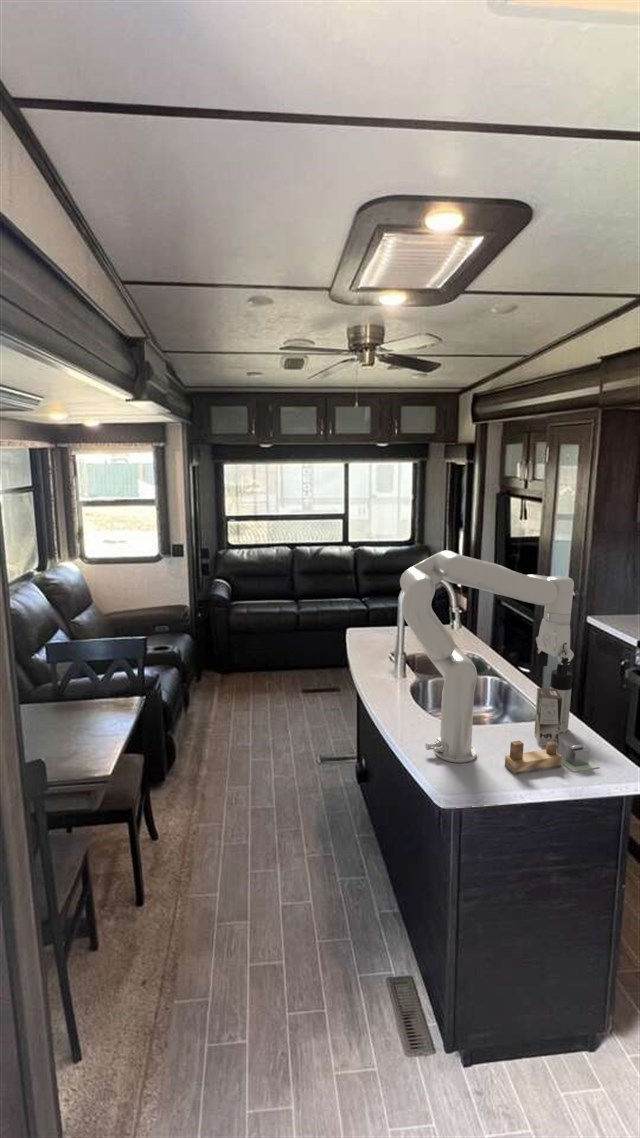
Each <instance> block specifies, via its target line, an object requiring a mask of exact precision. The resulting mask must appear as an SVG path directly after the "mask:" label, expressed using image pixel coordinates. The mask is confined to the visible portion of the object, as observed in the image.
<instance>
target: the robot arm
mask: <svg viewBox="0 0 640 1138" xmlns="http://www.w3.org/2000/svg"><path fill="white" fill-rule="evenodd" d="M443 580H445V581H447V582H449V583H452V584H456V585H461V586H463V587H464V586H465V587H470V588H472V589H478V590H481V591H484V592H485V591H486V592H488V593H492V594H495V595H499V596H504V597H508V598H511V599H514V600H518V601H521V602H526V603H530V604H534V605H538V606H544V611H543V617H542V619H541V622H540V626H539V632H538V636H536V637H535V641H536V648H537V651H536V653H537V663H536V664H537V667H540V668H541V667H547V666H548V663H549V662H548V661H549V656H551V657H554V658H557V662H558V663H557V667H556V670H557V674H556V676H557V677H566V676H567V671H568V667H569V665H570V663H571V662H572V661H573V660H572V659H573V658H574V656H575V654H574V651H572V649H571V616H572V605H573V597H574V588H575V582H574V580H573V578H571V577H569V576H564V575H563V576H562V575H552V576H551V575H550V576H548V575H547V576H546V575H540V574H532V573H531V574H523V573H520V572H517V571H514V570H512V569H510V568H507V567H505V566H503V565H500V564H498V563H495V562H490V561H486V560H483V559H482V560H481V559H477V558H474V557H470V556H467V555H466V556H465V555H463V554H459V553H457V552H455V551H452V550H442V551H438V552H437V553H435V554H433V555H431V556H430V557H427V558H426V559H424V560H422V561H419V562H418V563H416V564H414V565H413V566H410V567H409V568H408V569H406V570H404V572H403V573H402V574H401V576H400V579H399V584H400V588H401V590H402V592H403V593H405V595H404V598H403V600H402V601H403V602H402V615H403V619H404V620H405V622H406V624H407V625H408V627H409V628H410V631H412V633H413V634H414V636H415V638H416V641H417V644H418V646H419V647H420V648H421V650H422V651H423V653H425V655H426V656H427V657H428V659H429V660H430V662H431V663H432V664H433V666H434V667H435V668H436V669H437V671H438V672H439V673H440V675H441V676H442V677H443V687H442V691H441V704H440V705H441V708H440V709H441V710H440V733H439V734H440V736H439V737H437V738H436V741H434V742H429V743H425V750H426V751H430V750H432V751H433V753H435V755H436V756H437V757H438V758H439V759H441V760H444V761H447V762H450V763H456V764H457V763H459V764H461V763H462V764H463V763H468V762H472V761H474V760H475V759H476V758H477V750H476V748H475V747H474V746H473V745H472V743H473V721H474V720H473V718H474V699H475V692H476V691H475V690H476V687H477V686H476V685H477V682H478V681H477V680H478V671H477V667H476V665H475V663H474V662H473V661H472V659H470V657H468V656H467V655H466V654H465V653H464V652H463V651H462V650H461V649H460V648H459V646H458V645H457V644H456V643H455V641H454V638H453V635H452V634H451V632H450V631H449V630H448V629H447V628H446V626H444V624H443V623H442V622H441V620H440V619H439V617H438V616H437V615H436V613H435V612H434V610H433V608H432V601H433V598H434V596H435V592H436V585H437V584H438V583H440V582H441V581H443Z"/></svg>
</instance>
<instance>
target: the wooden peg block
mask: <svg viewBox="0 0 640 1138" xmlns="http://www.w3.org/2000/svg"><path fill="white" fill-rule="evenodd" d="M509 746H510V749H509V754H506V755H505V757H504V768H506V769H507V770H508V771H510V772H511V774H513V775H514V776H516V775H521V774H523V775H524V774H527V773H528V774H529V773H533V772H534V773H535V772H539V771H546V770H551V769H552V770H553V769H557V768H562V766H563V764H562V757H563V755H561V754H560V752H557V744H556V743H555V742H547V746H546V748H545V749H540V750H538V749H537V750H535V751H528V752H527V751H526V752H524V742H522V741H521V740H515V741H514V740H513V741H510V745H509Z"/></svg>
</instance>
